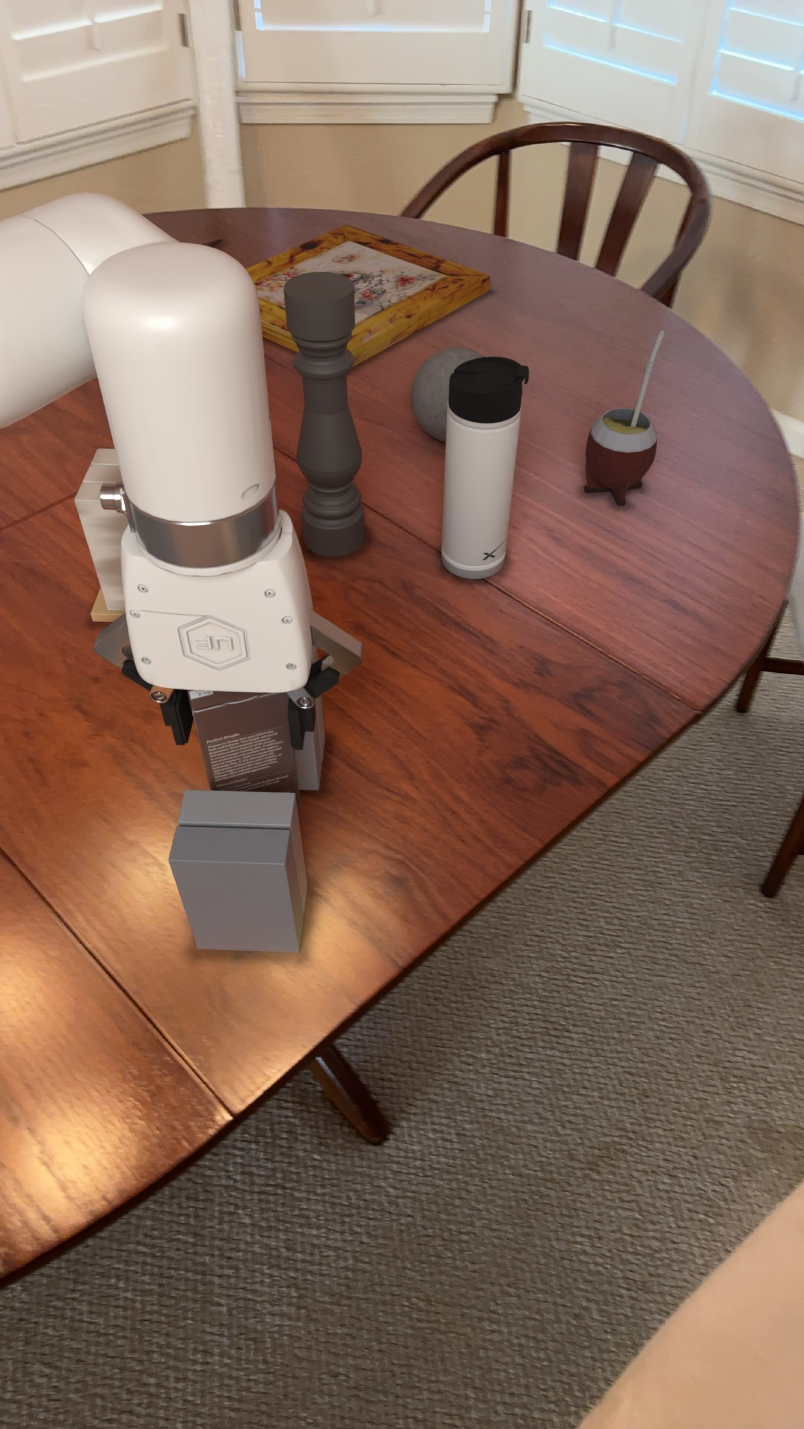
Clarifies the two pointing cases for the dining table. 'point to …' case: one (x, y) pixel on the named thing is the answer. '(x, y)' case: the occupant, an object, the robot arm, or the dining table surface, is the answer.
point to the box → (245, 741)
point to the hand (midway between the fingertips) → (242, 729)
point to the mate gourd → (622, 445)
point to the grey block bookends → (246, 860)
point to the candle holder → (326, 411)
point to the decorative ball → (436, 388)
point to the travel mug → (480, 464)
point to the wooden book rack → (103, 534)
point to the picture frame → (369, 287)
